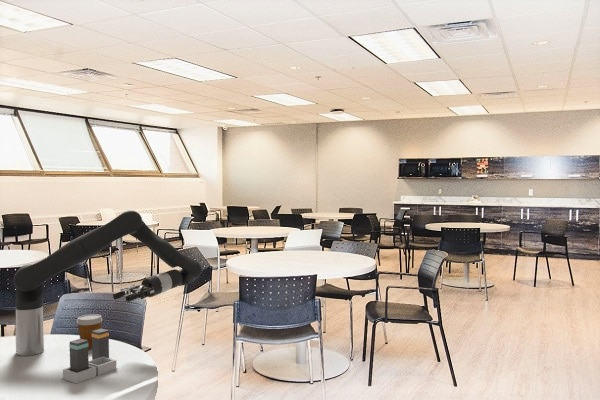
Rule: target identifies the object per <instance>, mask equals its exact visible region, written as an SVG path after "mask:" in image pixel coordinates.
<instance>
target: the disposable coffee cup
mask: <svg viewBox="0 0 600 400" xmlns="http://www.w3.org/2000/svg"><path fill="white" fill-rule="evenodd" d="M102 321H103V318H102V315H101V314H96V313H93V314H92V313H88V314H84V315H79V316H78V317H77V320H76V324H77V327H78V334H79V339H84V340H88V351H89V350H92V331H94V330H98V329H102Z"/></svg>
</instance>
